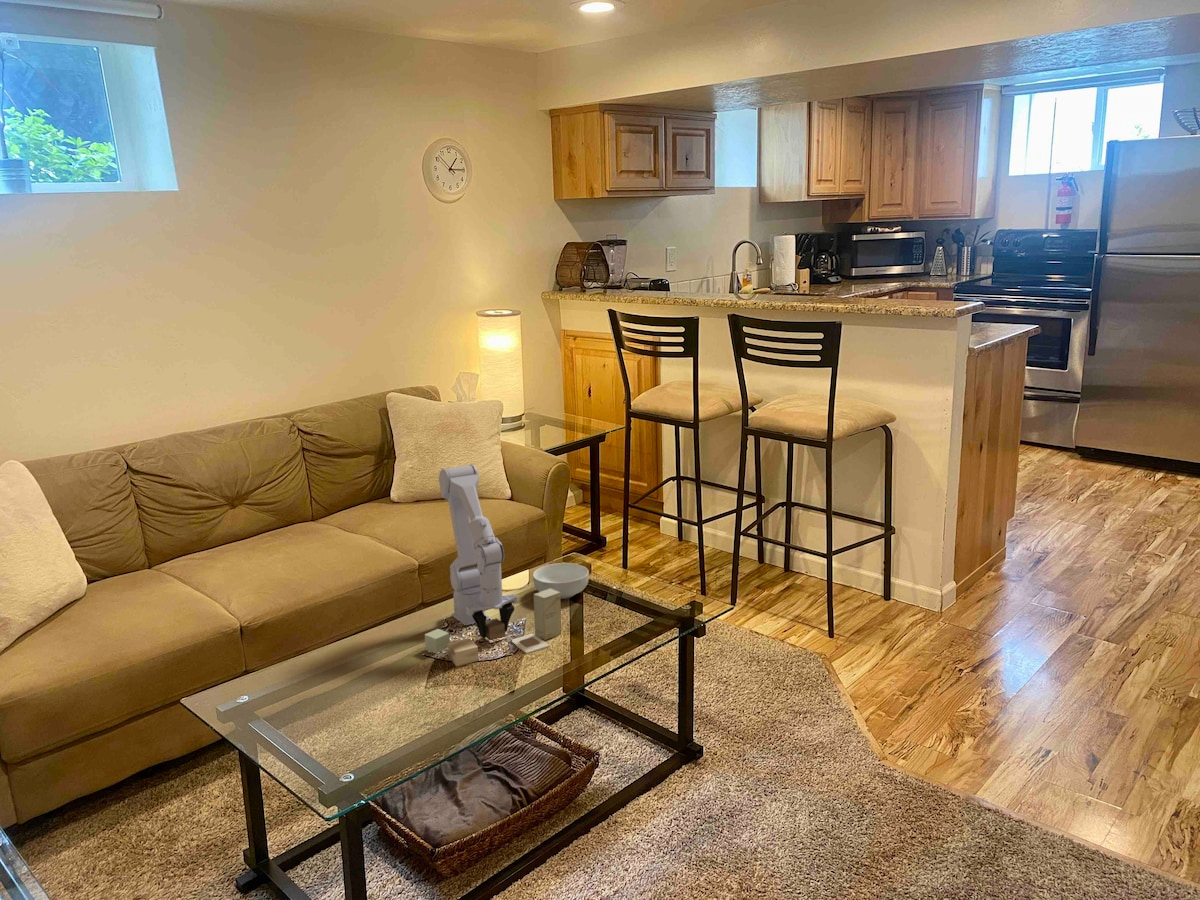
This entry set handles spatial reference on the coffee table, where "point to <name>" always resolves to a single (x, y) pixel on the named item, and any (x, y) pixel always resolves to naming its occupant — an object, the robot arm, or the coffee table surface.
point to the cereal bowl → (561, 578)
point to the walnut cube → (495, 629)
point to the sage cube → (436, 640)
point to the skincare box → (547, 613)
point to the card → (530, 643)
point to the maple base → (463, 652)
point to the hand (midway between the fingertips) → (493, 633)
